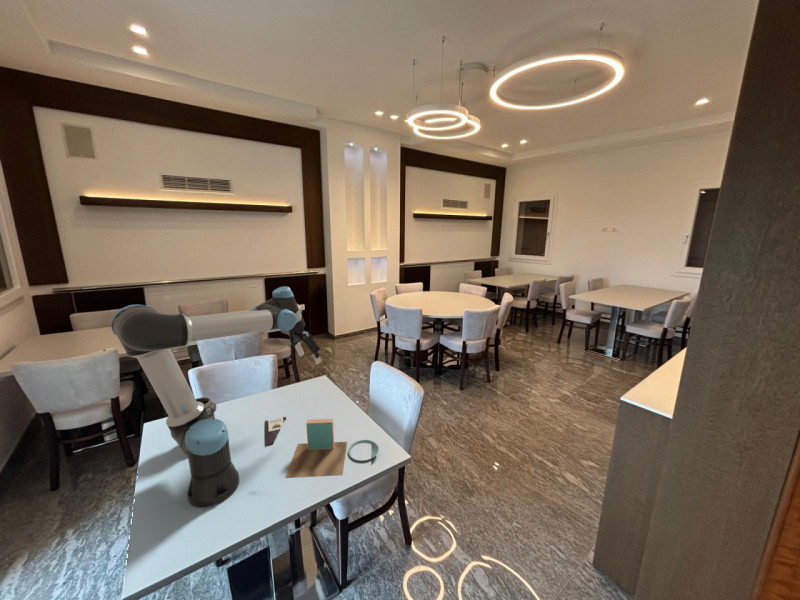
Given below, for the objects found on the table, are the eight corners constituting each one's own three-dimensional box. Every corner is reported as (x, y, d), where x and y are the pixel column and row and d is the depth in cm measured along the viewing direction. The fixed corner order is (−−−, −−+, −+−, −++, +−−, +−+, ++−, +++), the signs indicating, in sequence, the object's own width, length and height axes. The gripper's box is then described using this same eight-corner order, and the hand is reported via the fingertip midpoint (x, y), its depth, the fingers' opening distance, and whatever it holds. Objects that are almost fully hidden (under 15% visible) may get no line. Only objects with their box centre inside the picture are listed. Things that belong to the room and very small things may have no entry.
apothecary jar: (218, 428, 139) (213, 391, 135) (222, 443, 129) (217, 403, 125) (186, 438, 132) (179, 400, 128) (187, 455, 122) (181, 413, 118)
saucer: (356, 470, 115) (356, 464, 115) (343, 451, 125) (343, 446, 124) (384, 457, 121) (384, 452, 121) (369, 440, 131) (369, 436, 131)
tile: (308, 450, 123) (306, 423, 120) (309, 446, 126) (307, 419, 123) (333, 449, 124) (332, 422, 121) (334, 445, 126) (333, 418, 124)
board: (285, 480, 110) (285, 477, 109) (298, 446, 127) (297, 443, 127) (342, 477, 111) (342, 474, 111) (347, 444, 129) (347, 441, 128)
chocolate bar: (265, 445, 127) (265, 421, 143) (265, 447, 127) (265, 422, 144) (288, 439, 131) (285, 416, 147) (289, 441, 131) (286, 418, 147)
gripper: (317, 321, 130) (333, 361, 140) (285, 311, 146) (301, 347, 155) (303, 330, 125) (320, 371, 135) (272, 319, 141) (289, 356, 150)
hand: (310, 358), depth 145 cm, fingers open, 13 cm apart
